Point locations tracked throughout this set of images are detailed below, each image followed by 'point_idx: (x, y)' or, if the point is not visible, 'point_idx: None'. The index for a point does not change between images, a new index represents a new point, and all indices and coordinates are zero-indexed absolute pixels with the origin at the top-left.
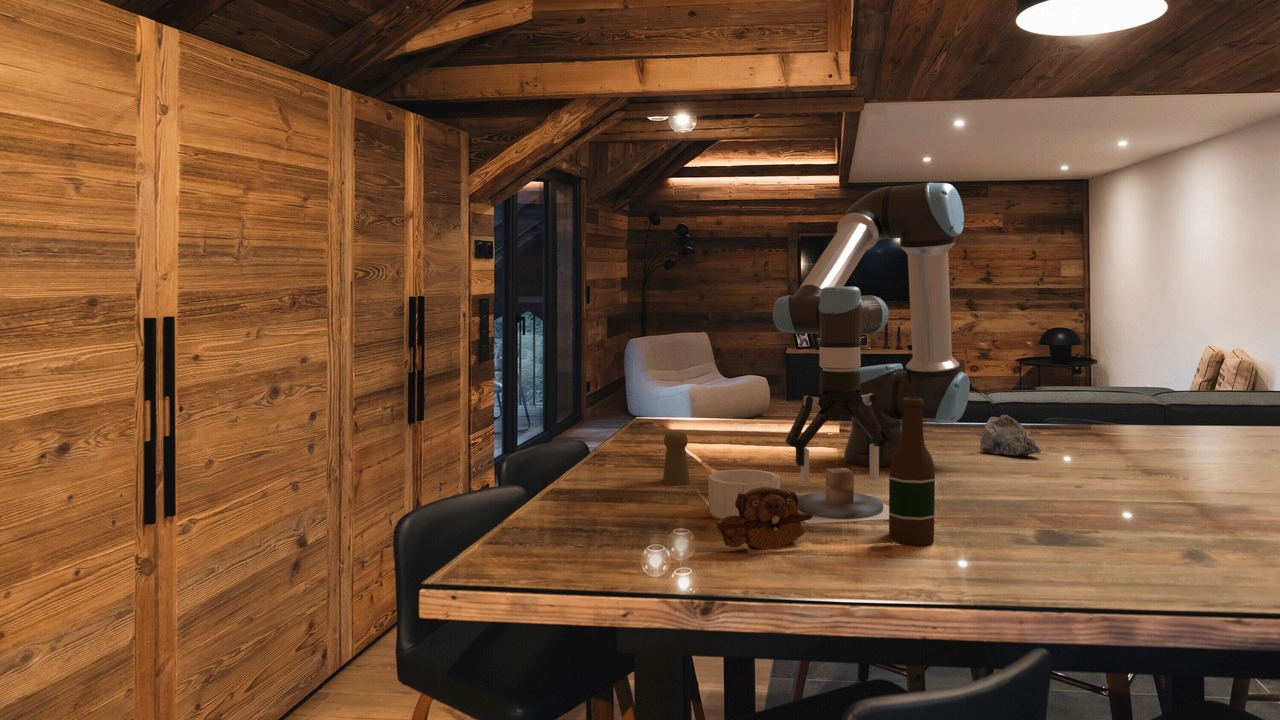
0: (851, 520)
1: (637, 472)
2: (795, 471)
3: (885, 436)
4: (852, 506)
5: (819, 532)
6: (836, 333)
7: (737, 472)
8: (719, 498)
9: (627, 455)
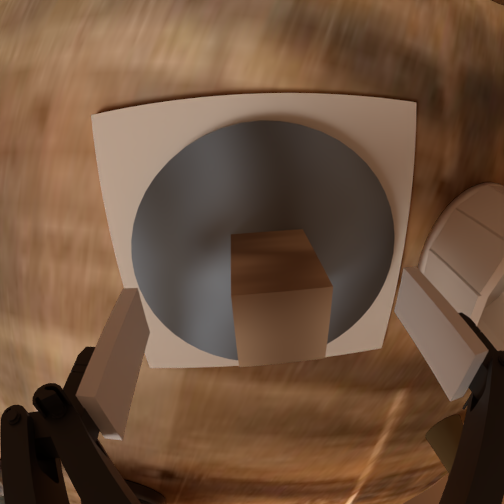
0: (280, 98)
1: None
2: (250, 482)
3: (30, 437)
4: (246, 198)
5: (394, 41)
6: None
7: None
8: None
9: (409, 490)
